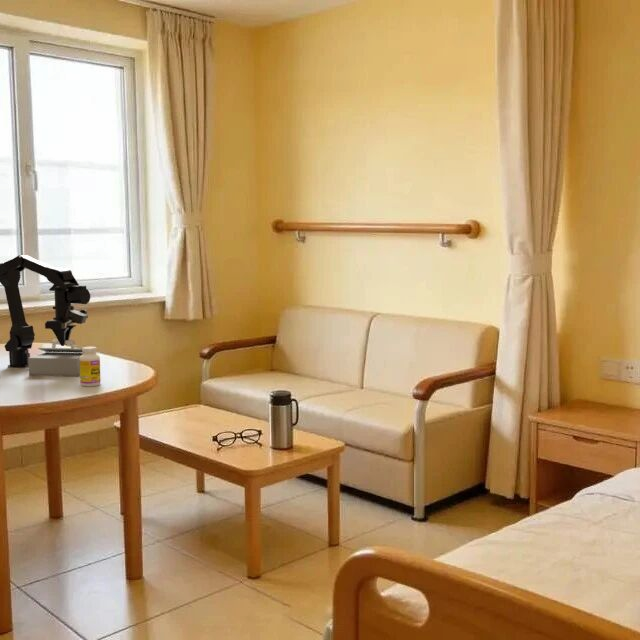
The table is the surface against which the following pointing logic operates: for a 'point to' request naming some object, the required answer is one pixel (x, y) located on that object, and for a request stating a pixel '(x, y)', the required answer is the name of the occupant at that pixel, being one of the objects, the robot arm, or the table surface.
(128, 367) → the table surface
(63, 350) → the rear flap
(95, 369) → the supplement bottle
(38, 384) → the table surface
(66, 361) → the cabinet
